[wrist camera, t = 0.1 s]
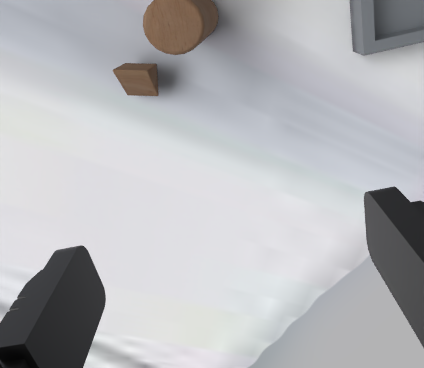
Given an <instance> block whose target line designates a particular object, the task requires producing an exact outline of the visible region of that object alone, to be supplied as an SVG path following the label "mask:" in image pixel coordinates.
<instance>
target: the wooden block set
mask: <svg viewBox="0 0 424 368" xmlns="http://www.w3.org/2000/svg"><path fill="white" fill-rule="evenodd" d="M217 23H218V10H217V8H216V6H215V4H214V3H213V2H212V1H211V0H154V1H153V2H152V3H151V4H150V5H149V6H148V7H147V10H146V12H145V14H144V19H143V27H144V32H145V35H146V37H147V38H148V40H149V42H150V43H151V44H152V45H153V46H154V47H155V48H156V49H158V50H160V51H162V52H164V53H167V54H173V55H178V54H185V53H187V52H189V51H191V50H193V49H194V48H195V47H196V46H198V45H199V44H200V43H201V42H202V41H203V40H204V39H205V38H206V37H208V36H209V35H210V34H211V33H212V32H213V31H214V29H215V28H216V26H217ZM113 72H114V74H115V75H116V77H117V78H118V80H119V82H120V83H121V85H122V87H123V88H124V90H125V92H126V93H127V95H139V96H158V78H157V65H156V64H135V63H125V64H123V65H121V66H119V67H117V68H116V69H114V70H113Z"/></svg>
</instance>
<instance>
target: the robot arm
mask: <svg viewBox="0 0 424 368" xmlns="http://www.w3.org/2000/svg"><path fill="white" fill-rule="evenodd" d="M364 207H365V223H366V238H367V245H368V250H369V253H370V256H371V259H372V261H373V263H374V265H375V266H376V268H377V270H378V271H379V273H380V275H381V276H382V278H383V280H384V281H385V283H386V285H387V286H388V288H389V290H390V292H391V293H392V295H393V297H394V298H395V300H396V302H397V303H398V305H399V307H400V308H401V310H402V311H403V314H404V315H405V317H406V318H407V320H408V322H409V324H410V325H411V327H412V329H413V330H414V332H415V333H416V335H417V337H418V339H419V340H420V342H421V344H422V346H423V347H424V202H422V201H416V202H410V201H409V200H408V199H407V198H406V197H405V196H404V195H403V194H402V193H401V192H400V191H399V190H398V189H397V188H396V187H390V188H384V189H379V190H374V191H369V192H366V193H365V195H364ZM17 298H18V299H17V300H15V301H14V303H13V304H12V306H11V307H10V312H7V313H6V315H5V317H4V318H3V320H2V321H1V323H0V368H83V366H84V363H85V360H86V358H87V355H88V352H89V349H90V347H91V344H92V341H93V338H94V335H95V333H96V330H97V327H98V324H99V322H100V319H101V316H102V313H103V310H104V307H105V300H106V298H105V290H104V287H103V284H102V282H101V279H100V277H99V275H98V273H97V270H96V268H95V266H94V264H93V261H92V259H91V257H90V255H89V252H88V250H87V249H86V248H85V247H84V246H76V247H71V248H66V249H60V250H56V251H55V252H54V253H53V255H52V256H51V258H50V260H49V261H48V263H47V264H46V266H45V267H44V269H43V270H41V271H40V272H39V273H37V274H36V275H35V276H34V277H33V278H32V279H31V280H30V281H29V282H27V283H26V285H25V286H24V288H23V289H22V291H21V292H20V294H19V295H18V297H17Z"/></svg>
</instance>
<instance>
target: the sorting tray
mask: <svg viewBox="0 0 424 368" xmlns="http://www.w3.org/2000/svg"><path fill="white" fill-rule="evenodd" d="M350 13H351V28H352V42H353V51H354V52H356V53H359V54H361V55H368V54H373V53H377V52H382V51H386V50H390V49H395V48H399V47H404V46H408V45H412V44H417V43H421V42H424V0H350Z"/></svg>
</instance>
